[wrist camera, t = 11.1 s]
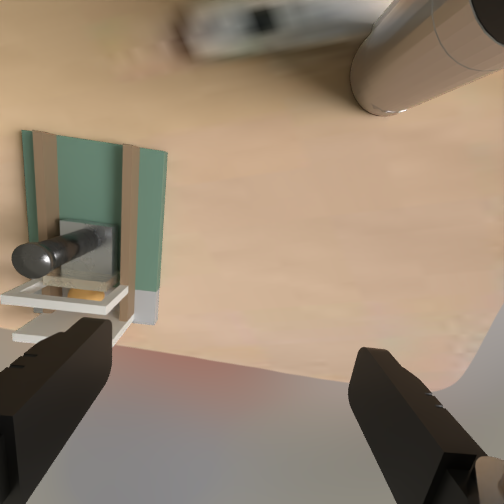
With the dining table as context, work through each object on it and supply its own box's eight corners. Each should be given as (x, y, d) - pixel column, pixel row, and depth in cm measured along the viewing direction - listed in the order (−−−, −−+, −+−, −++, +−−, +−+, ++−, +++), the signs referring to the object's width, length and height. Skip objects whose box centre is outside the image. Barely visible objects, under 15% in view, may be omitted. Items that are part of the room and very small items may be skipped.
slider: (63, 217, 33) (-14, 234, 23) (122, 225, 34) (71, 244, 24) (65, 273, 35) (-6, 310, 25) (121, 279, 35) (73, 319, 25)
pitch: (31, 132, 32) (-53, 112, 23) (167, 152, 33) (139, 142, 24) (41, 307, 38) (-23, 348, 29) (157, 319, 39) (131, 362, 30)
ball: (65, 317, 34) (82, 292, 37) (98, 320, 34) (112, 296, 37) (55, 296, 31) (74, 271, 34) (91, 299, 31) (106, 275, 34)
